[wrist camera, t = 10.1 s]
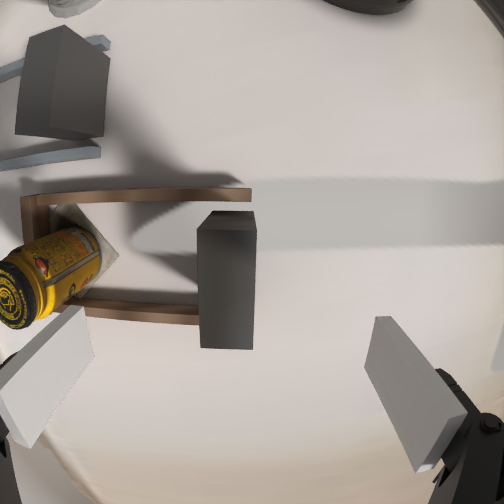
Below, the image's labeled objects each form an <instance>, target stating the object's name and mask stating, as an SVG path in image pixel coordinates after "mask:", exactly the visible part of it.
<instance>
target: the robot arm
mask: <svg viewBox="0 0 504 504" xmlns="http://www.w3.org/2000/svg"><path fill="white" fill-rule="evenodd" d="M325 1H327V2H329V3H331V4H334V5H336V6H339V7H341V8H344V9H347V10H350V11H354V12H358V13H363V14H371V15H385V14H391V13H395V12H398V11H400V10H402V9H403V8H405V7H406V6H407V5H408V4H409V3H410V2H412V1H413V0H325ZM474 1H475V2H476V3H477V5H478V6H479V7H480V8H481V9H482V11H483V12H484V13H485V14H486V16H487V17H488V18H489V19H490V21H491V22H492V23H493V25H494V26H495V27H496V29H497V30H498V31H499V33H500V34H501V35H502V37H503V38H504V0H474ZM93 358H94V352H93V348H92V344H91V339H90V335H89V330H88V326H87V321H86V316H85V311H84V306H76V305H70V306H69V307H68V308H66V309H65V310H64V311H63V312H62V313H61V314H60V315H58V316H57V317H56V318H55V319H54V320H53V321H52V322H51V323H49V324H48V325H47V326H46V327H45V328H44V329H43V330H42V331H41V332H40V333H38V334H37V335H36V336H35V337H34V338H33V339H32V340H31V341H30V342H29V343H28V344H27V345H26V346H24V347H23V348H22V349H21V350H20V351H18V352H16V353H14V354H12V355H11V356H9V357H8V358H7V359H6V360H5V361H4V362H3V364H1V365H0V504H22V502H21V499H20V495H19V491H18V487H17V483H16V478H15V474H14V469H13V464H12V459H11V452H10V446H9V442H8V440H7V438H6V436H7V434H8V433H9V432H10V433H11V435H12V437H13V438H14V440H15V442H16V443H18V444H20V445H23V446H25V447H27V448H29V449H31V447H32V446H33V444H34V443H35V441H36V440H37V438H38V437H39V435H40V434H41V432H42V430H43V429H44V427H45V426H46V424H47V423H48V421H49V420H50V418H51V417H52V415H53V414H54V413H55V411H56V410H57V408H58V407H59V405H60V404H61V402H62V401H63V399H64V398H65V397H66V395H67V394H68V392H69V391H70V389H71V388H72V387H73V385H74V384H75V382H76V381H77V380H78V378H79V377H80V375H81V374H82V373H83V371H84V370H85V369H86V367H87V366H88V364H89V363H90V362H91V360H92V359H93ZM364 368H365V370H366V372H367V374H368V376H369V378H370V380H371V382H372V384H373V386H374V388H375V390H376V392H377V394H378V396H379V398H380V400H381V402H382V404H383V406H384V408H385V410H386V412H387V414H388V416H389V418H390V420H391V422H392V424H393V426H394V428H395V430H396V432H397V434H398V437H399V439H400V441H401V443H402V445H403V447H404V449H405V451H406V454H407V456H408V458H409V460H410V462H411V464H412V467H413V469H414V471H415V473H419V472H423V471H426V470H429V469H433V468H434V467H435V466H436V464H437V463H438V461H439V460H440V458H442V460H443V462H444V464H445V465H444V466H443V468H442V469H441V471H440V472H439V473H438V475H437V476H436V477H435V479H434V480H433V483H435V482H436V481H437V483H436V485H435V488H434V491H433V493H432V496H431V498H430V500H429V503H428V504H504V423H503V422H502V420H501V419H500V418H499V417H497V416H496V415H493V414H491V413H480V411H479V410H478V409H477V408H476V406H475V405H474V404H473V402H472V401H471V400H470V399H469V397H468V396H467V395H466V394H465V392H464V391H462V389H461V387H460V386H459V385H457V382H456V381H455V380H454V379H453V377H452V376H451V375H450V374H448V373H447V372H445V371H444V370H442V369H441V368H439V369H434V368H433V367H432V365H431V364H430V363H429V362H428V360H427V359H426V358H425V357H424V355H423V354H422V353H421V352H420V350H419V349H418V348H417V347H416V346H415V344H414V343H413V342H412V341H411V339H410V338H409V337H408V336H407V335H406V333H405V332H404V331H403V330H402V329H401V327H400V326H399V325H398V324H397V323H396V322H395V320H394V319H393V318H392V317H391V316H382V317H376V318H375V323H374V328H373V332H372V337H371V341H370V346H369V350H368V354H367V358H366V362H365V366H364ZM437 479H438V480H437Z"/></svg>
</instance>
